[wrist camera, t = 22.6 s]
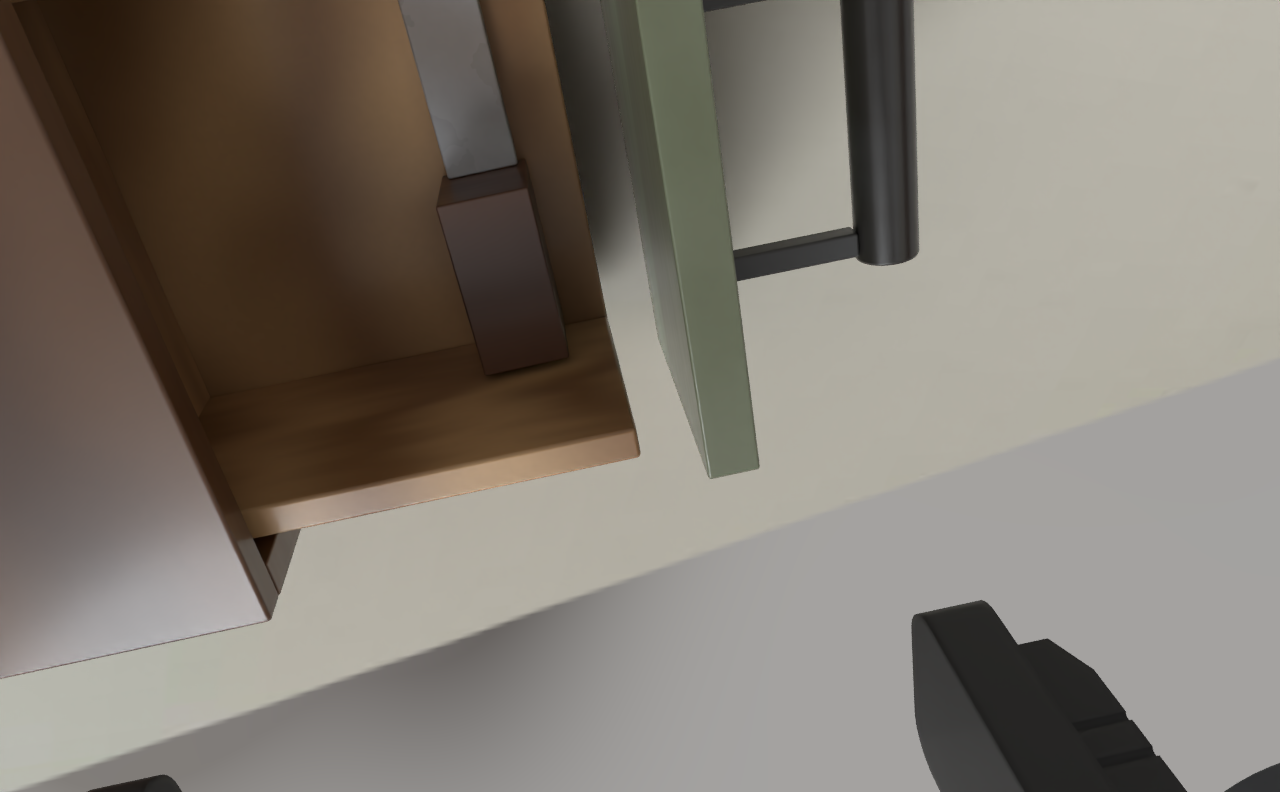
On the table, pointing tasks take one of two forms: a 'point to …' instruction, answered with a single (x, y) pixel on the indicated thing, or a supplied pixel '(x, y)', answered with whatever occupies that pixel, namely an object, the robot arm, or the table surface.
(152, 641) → the cabinet
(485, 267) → the knife
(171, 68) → the drawer
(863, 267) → the table surface
